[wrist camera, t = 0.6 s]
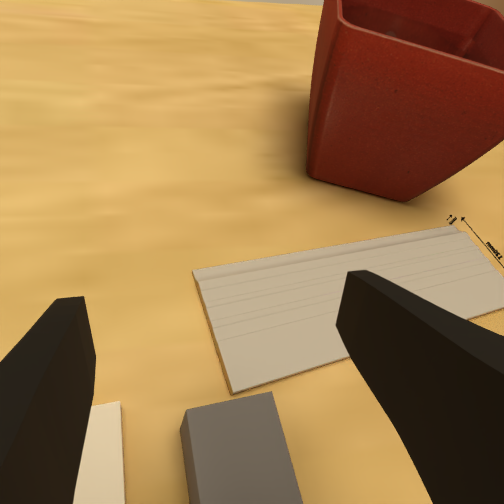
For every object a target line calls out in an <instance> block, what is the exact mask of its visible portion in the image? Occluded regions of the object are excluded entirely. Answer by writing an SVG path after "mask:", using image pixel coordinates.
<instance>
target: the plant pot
mask: <svg viewBox="0 0 504 504" xmlns="http://www.w3.org/2000/svg"><path fill="white" fill-rule="evenodd" d="M503 140H504V17H503V15H502V14H501V13H500V12H499V11H497V10H496V9H493V8H492V7H490V6H486V5H484V4H481V3H478V2H475V1H472V0H324V4H323V10H322V15H321V20H320V26H319V32H318V37H317V44H316V50H315V57H314V64H313V72H312V81H311V91H310V103H309V120H308V142H307V163H306V170H307V173H308V174H309V175H310V176H311V177H313V178H316V179H319V180H323V181H327V182H330V183H334V184H338V185H342V186H345V187H349V188H353V189H357V190H361V191H364V192H368V193H372V194H375V195H379V196H383V197H387V198H390V199H394V200H398V201H402V202H406V201H409V200H411V199H413V198H415V197H417V196H419V195H421V194H422V193H424V192H426V191H428V190H429V189H431V188H433V187H435V186H436V185H438V184H440V183H442V182H443V181H445V180H446V179H448V178H450V177H451V176H453V175H454V174H456V173H458V172H459V171H461V170H462V169H464V168H465V167H467V166H468V165H470V164H471V163H473V162H474V161H475V160H477V159H478V158H480V157H481V156H483V155H484V154H485V153H487V152H488V151H490V150H491V149H492V148H494V147H495V146H496V145H498V144H499V143H500V142H502V141H503Z"/></svg>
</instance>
